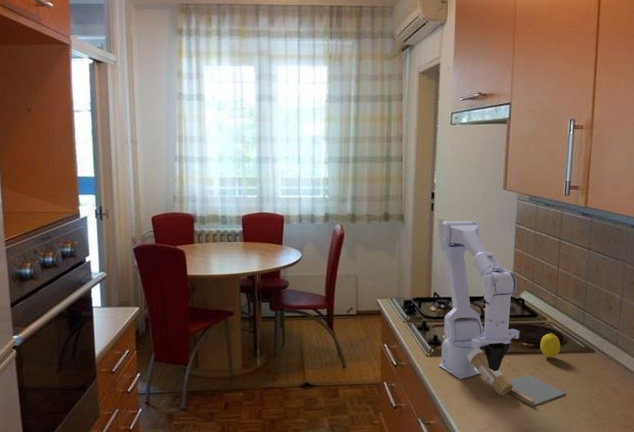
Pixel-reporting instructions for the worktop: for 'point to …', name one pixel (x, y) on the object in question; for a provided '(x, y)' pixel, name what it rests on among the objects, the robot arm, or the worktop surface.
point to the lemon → (550, 345)
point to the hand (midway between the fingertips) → (493, 369)
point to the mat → (533, 390)
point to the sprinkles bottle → (489, 372)
